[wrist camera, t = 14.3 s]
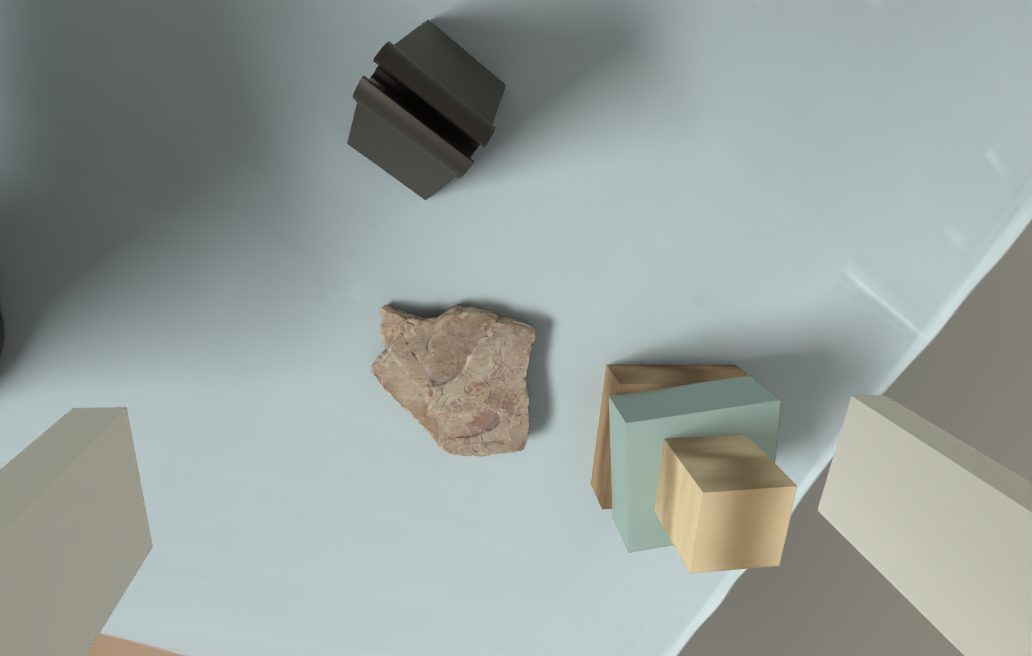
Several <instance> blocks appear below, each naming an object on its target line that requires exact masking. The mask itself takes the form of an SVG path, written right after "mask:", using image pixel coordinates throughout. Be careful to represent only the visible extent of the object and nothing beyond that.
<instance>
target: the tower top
mask: <svg viewBox="0 0 1032 656" xmlns="http://www.w3.org/2000/svg"><path fill="white" fill-rule="evenodd" d="M780 404H781V400H780V399H779V398H778V397H776V396H775V395H774V394H773V393H771V392H770V391H769V390H768V389H767V388H765V387H764V386H763V385H762V384H760V383H759V382H758V381H757V380H755V379H754V378H753V377H752V376H744V377H737V378H730V379H723V380H716V381H709V382H702V383H696V384H689V385H682V386H675V387H668V388H661V389H654V390H647V391H640V392H634V393H627V394H620V395H613V396H609V418H610V450H611V483H612V516H613V520H614V522H615V524H616V526H617V528H618V531H619V533H620V535H621V537H622V539H623V542H624V544H625V546H626V548H627V551H628V553H631V552H637V551H643V550H648V549H654V548H660V547H666V546H671V545H673V543H672V541H671V540H670V538H669V536H668V534H667V533H666V531H665V529H664V527H663V525H662V524H661V522H660V520H659V518H658V517H657V515H656V513H655V504H656V497H657V489H658V481H659V474H660V466H661V458H662V451H663V443H664V439H672V438H691V437H709V436H727V435H747V436H748V437H749V438H750V439H751V440H752V441H753V442H754V443H755V444H756V445H757V446H758V447H759V448H760V449H761V450H762V451H763V452H764V453H765V454H766V455H767V456H768V457H769V458H770V459H771V460H772V461H773V462H774V463H775V458H776V447H777V436H778V425H779V414H780Z"/></svg>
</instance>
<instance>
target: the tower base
mask: <svg viewBox="0 0 1032 656" xmlns="http://www.w3.org/2000/svg"><path fill="white" fill-rule="evenodd" d="M744 376H748V375H747V374H746V373H745V372H743V371H742V370H741V369H740V368H738V367H737V366H711V365H606V373H605V380H604V388H603V396H602V403H601V411H600V418H599V426H598V434H597V441H596V449H595V456H594V464H593V472H592V479H591V485H592V487H593V489H594V492H595V494H596V496H597V498H598V501H599V503H600V505H601V508H602V509H612V483H611V450H610V418H609V396H613V395H620V394H627V393H634V392H640V391H647V390H654V389H661V388H668V387H675V386H682V385H689V384H696V383H702V382H709V381H716V380H723V379H730V378H737V377H744Z"/></svg>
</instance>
